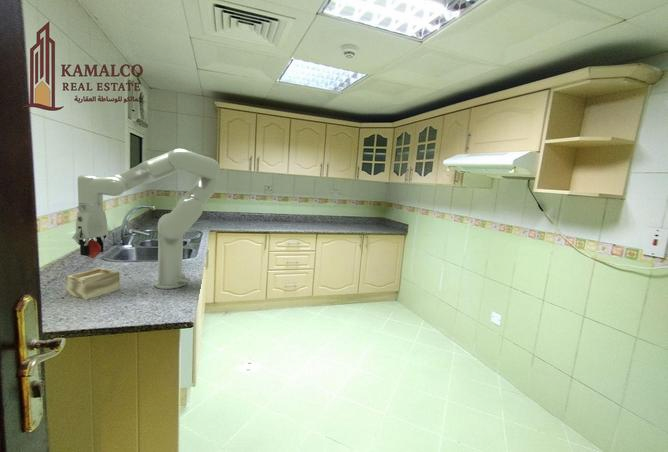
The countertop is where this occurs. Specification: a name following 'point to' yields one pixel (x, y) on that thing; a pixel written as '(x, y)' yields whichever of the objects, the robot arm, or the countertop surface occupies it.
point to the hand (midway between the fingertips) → (92, 253)
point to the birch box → (92, 283)
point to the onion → (94, 248)
